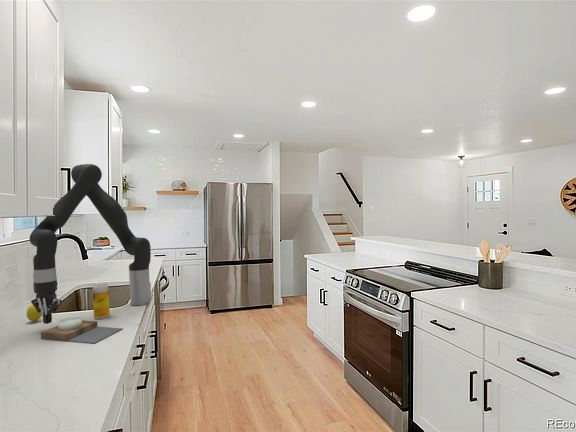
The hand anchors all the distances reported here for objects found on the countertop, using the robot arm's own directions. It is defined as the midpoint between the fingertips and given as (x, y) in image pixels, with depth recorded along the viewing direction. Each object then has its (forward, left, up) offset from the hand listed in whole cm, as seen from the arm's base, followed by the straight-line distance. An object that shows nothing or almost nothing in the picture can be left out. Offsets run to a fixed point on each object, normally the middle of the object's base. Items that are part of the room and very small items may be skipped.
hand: (47, 323), depth 132 cm
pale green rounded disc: (0, +11, -1) cm, 11 cm away
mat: (0, +23, -3) cm, 23 cm away
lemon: (-8, -16, -4) cm, 18 cm away
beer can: (-18, +9, -4) cm, 20 cm away
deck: (0, +11, -3) cm, 11 cm away
